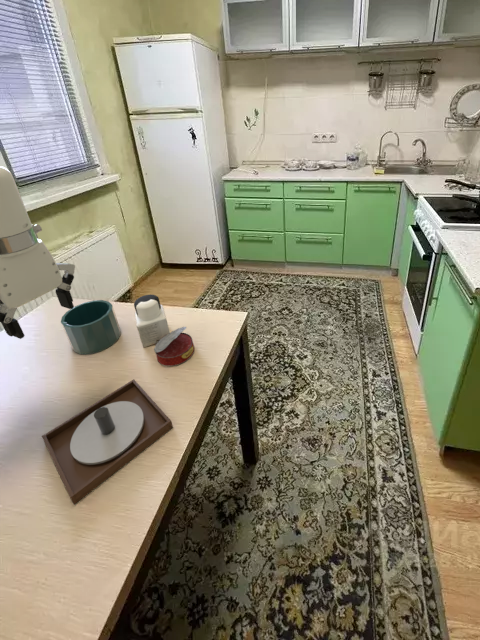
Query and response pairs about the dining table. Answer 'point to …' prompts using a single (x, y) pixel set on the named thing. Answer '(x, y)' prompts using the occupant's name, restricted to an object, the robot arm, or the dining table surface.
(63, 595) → the dining table surface
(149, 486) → the dining table surface
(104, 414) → the lid
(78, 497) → the tray
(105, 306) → the canister
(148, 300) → the container
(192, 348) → the canned food
